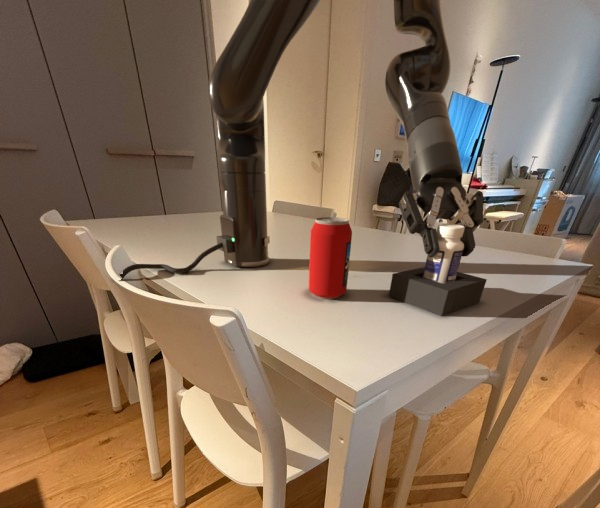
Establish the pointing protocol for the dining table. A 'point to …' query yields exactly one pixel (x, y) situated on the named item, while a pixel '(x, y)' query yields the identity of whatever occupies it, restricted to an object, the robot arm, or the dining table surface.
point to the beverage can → (329, 257)
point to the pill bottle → (445, 254)
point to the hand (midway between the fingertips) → (451, 253)
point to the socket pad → (436, 291)
